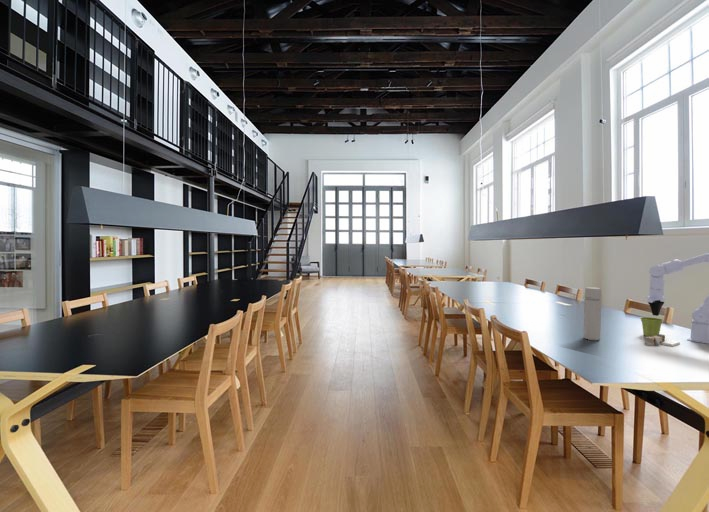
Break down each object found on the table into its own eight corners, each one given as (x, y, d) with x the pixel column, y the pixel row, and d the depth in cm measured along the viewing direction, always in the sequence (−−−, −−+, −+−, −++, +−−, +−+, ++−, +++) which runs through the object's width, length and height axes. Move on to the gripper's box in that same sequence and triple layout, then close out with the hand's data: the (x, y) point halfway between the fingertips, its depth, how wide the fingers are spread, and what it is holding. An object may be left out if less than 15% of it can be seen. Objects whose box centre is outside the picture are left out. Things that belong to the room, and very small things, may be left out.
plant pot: (635, 334, 198) (636, 317, 198) (644, 332, 203) (645, 316, 203) (657, 339, 190) (657, 321, 190) (666, 336, 195) (667, 319, 195)
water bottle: (603, 341, 186) (605, 289, 185) (585, 340, 188) (587, 288, 186) (595, 336, 195) (597, 286, 194) (578, 335, 197) (580, 286, 195)
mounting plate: (679, 344, 182) (679, 341, 182) (672, 346, 177) (672, 344, 177) (668, 341, 185) (668, 339, 185) (661, 344, 181) (661, 342, 181)
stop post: (660, 345, 180) (660, 337, 179) (658, 345, 179) (658, 338, 179) (655, 344, 181) (656, 336, 181) (654, 344, 180) (654, 337, 180)
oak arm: (659, 341, 187) (659, 333, 186) (666, 342, 184) (666, 335, 184) (644, 343, 182) (644, 336, 182) (651, 345, 179) (651, 337, 179)
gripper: (653, 287, 205) (652, 312, 206) (640, 288, 198) (639, 315, 198) (669, 288, 199) (668, 314, 200) (657, 290, 192) (656, 317, 192)
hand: (655, 315), depth 199 cm, fingers closed
